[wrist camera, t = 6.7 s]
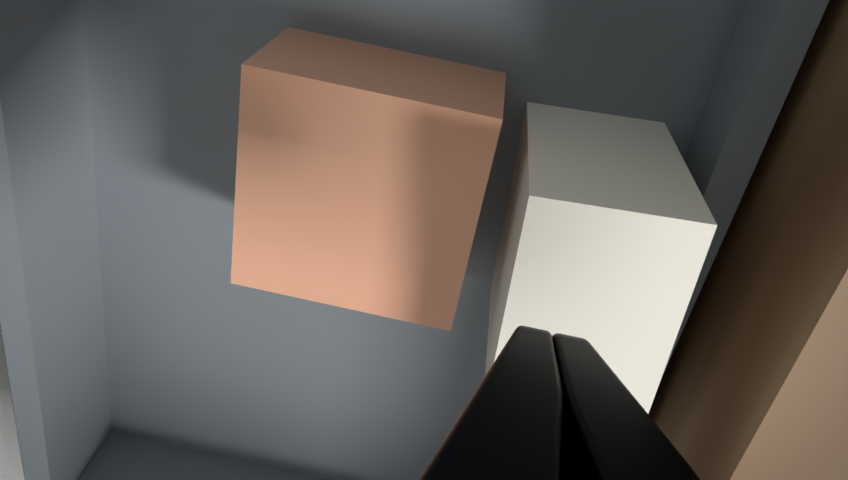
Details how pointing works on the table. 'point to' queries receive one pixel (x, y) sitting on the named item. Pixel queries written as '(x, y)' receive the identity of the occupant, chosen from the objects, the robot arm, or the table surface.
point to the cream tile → (600, 240)
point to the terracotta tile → (361, 174)
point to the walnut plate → (776, 300)
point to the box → (214, 216)
